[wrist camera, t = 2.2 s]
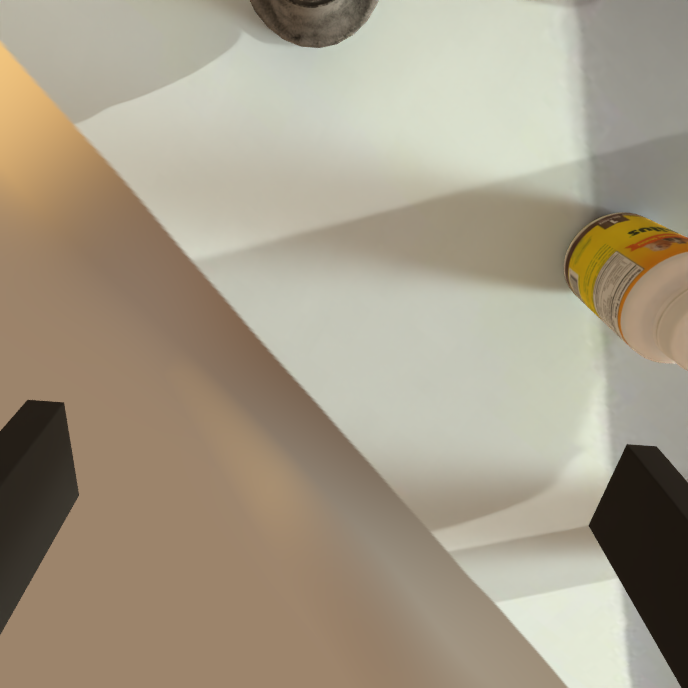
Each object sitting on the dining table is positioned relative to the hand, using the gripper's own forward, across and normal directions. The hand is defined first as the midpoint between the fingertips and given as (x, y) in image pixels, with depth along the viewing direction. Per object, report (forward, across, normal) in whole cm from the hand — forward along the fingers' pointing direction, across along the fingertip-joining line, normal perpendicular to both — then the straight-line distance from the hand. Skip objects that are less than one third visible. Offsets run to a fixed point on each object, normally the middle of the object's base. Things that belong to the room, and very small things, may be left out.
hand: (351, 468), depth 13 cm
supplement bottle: (+20, +16, 0) cm, 25 cm away
